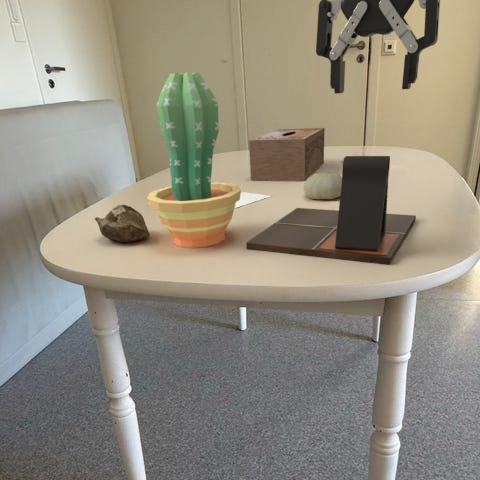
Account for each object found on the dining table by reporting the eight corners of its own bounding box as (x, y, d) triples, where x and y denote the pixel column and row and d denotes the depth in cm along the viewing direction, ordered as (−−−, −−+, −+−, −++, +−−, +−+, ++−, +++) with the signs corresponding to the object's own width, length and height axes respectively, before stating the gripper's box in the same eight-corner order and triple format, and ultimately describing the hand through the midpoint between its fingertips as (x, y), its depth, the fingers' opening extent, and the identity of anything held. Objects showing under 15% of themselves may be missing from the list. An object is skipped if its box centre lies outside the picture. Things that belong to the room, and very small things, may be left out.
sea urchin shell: (331, 180, 102) (344, 157, 95) (342, 210, 100) (357, 189, 93) (294, 185, 100) (305, 162, 93) (305, 215, 98) (317, 194, 91)
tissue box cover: (277, 163, 139) (276, 129, 135) (323, 163, 135) (324, 127, 130) (250, 180, 118) (248, 140, 114) (304, 181, 113) (304, 139, 109)
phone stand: (377, 252, 62) (385, 162, 56) (334, 249, 64) (337, 162, 59) (385, 232, 69) (393, 151, 64) (346, 230, 72) (351, 151, 66)
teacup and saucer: (233, 196, 103) (232, 178, 101) (209, 203, 98) (207, 184, 96) (207, 192, 109) (205, 175, 107) (183, 199, 103) (180, 181, 102)
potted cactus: (250, 225, 81) (242, 68, 70) (235, 254, 68) (222, 66, 56) (170, 226, 84) (149, 75, 72) (140, 254, 71) (108, 75, 59)
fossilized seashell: (84, 226, 78) (110, 247, 72) (98, 191, 77) (126, 209, 71) (120, 238, 84) (147, 258, 78) (134, 205, 83) (162, 223, 77)
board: (415, 221, 78) (416, 214, 77) (390, 264, 61) (390, 257, 60) (296, 212, 87) (296, 207, 87) (246, 248, 70) (245, 242, 70)
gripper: (454, -78, 50) (434, 86, 57) (330, -52, 56) (326, 92, 63) (447, -96, 44) (426, 89, 51) (309, -66, 50) (309, 96, 58)
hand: (371, 91), depth 57 cm, fingers open, 8 cm apart
